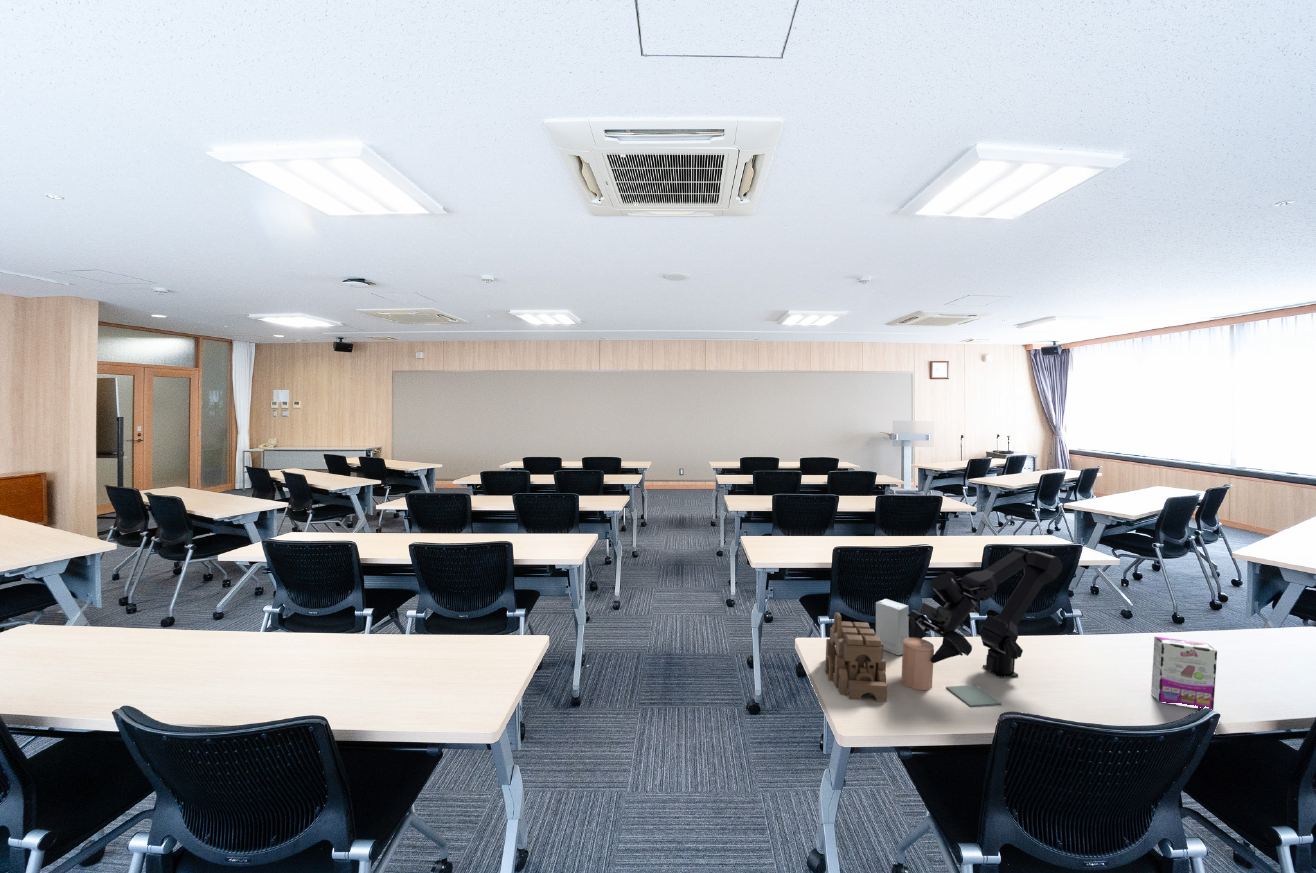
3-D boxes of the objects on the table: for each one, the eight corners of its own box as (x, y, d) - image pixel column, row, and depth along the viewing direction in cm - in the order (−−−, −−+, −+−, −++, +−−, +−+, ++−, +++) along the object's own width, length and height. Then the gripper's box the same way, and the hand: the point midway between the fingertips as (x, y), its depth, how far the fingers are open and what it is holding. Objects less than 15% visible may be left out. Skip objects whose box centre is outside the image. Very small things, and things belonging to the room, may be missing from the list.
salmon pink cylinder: (920, 675, 150) (922, 636, 150) (937, 689, 143) (940, 648, 142) (895, 676, 149) (897, 637, 149) (912, 690, 142) (914, 650, 141)
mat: (975, 686, 145) (975, 684, 145) (1001, 704, 136) (1001, 703, 136) (946, 688, 144) (946, 686, 144) (970, 706, 135) (970, 705, 135)
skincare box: (908, 652, 165) (911, 605, 164) (897, 656, 162) (899, 609, 161) (884, 641, 172) (886, 597, 171) (873, 645, 168) (875, 600, 168)
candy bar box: (1202, 702, 139) (1207, 642, 138) (1213, 712, 135) (1219, 650, 134) (1148, 693, 144) (1153, 635, 143) (1158, 702, 139) (1163, 642, 138)
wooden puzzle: (895, 702, 136) (898, 632, 135) (837, 699, 137) (841, 629, 136) (867, 661, 158) (870, 601, 157) (818, 658, 159) (820, 598, 158)
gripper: (914, 582, 155) (880, 622, 153) (966, 606, 137) (928, 651, 135) (935, 607, 158) (901, 645, 155) (988, 633, 140) (951, 677, 137)
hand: (919, 654), depth 146 cm, fingers open, 9 cm apart
